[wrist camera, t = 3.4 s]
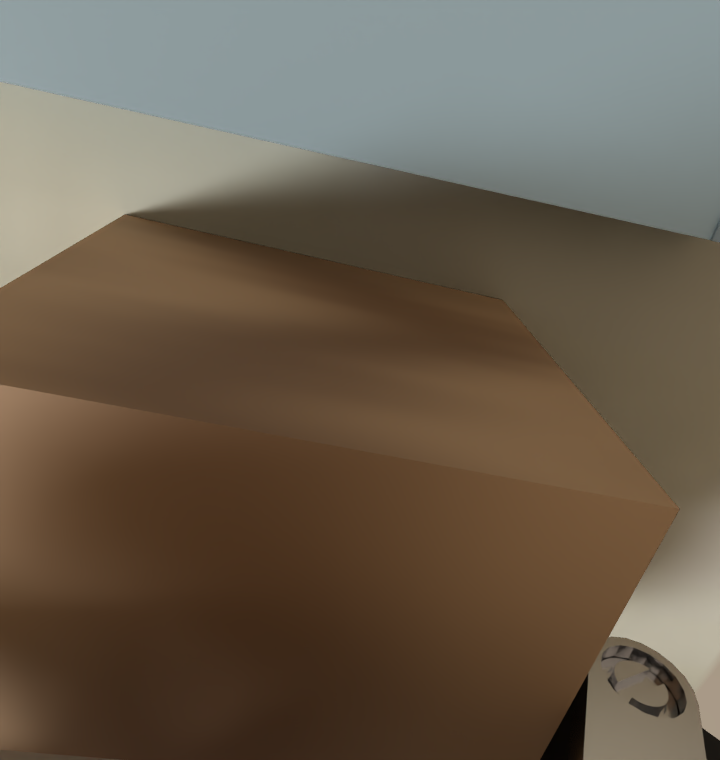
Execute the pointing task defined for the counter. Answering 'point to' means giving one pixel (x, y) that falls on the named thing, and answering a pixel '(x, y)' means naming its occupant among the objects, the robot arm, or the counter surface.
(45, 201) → the counter surface
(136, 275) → the wooden block
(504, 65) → the plate
